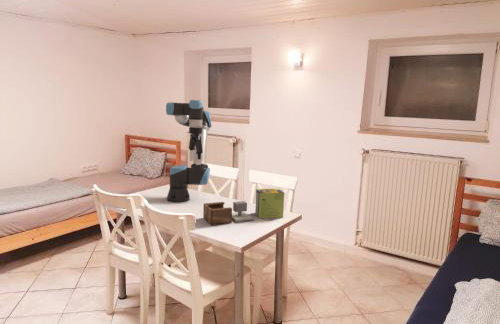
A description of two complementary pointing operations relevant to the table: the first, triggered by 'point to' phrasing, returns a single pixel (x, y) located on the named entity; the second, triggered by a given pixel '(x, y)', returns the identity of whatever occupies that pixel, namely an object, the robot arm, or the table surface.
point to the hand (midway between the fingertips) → (195, 162)
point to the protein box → (269, 203)
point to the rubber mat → (242, 221)
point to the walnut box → (217, 213)
